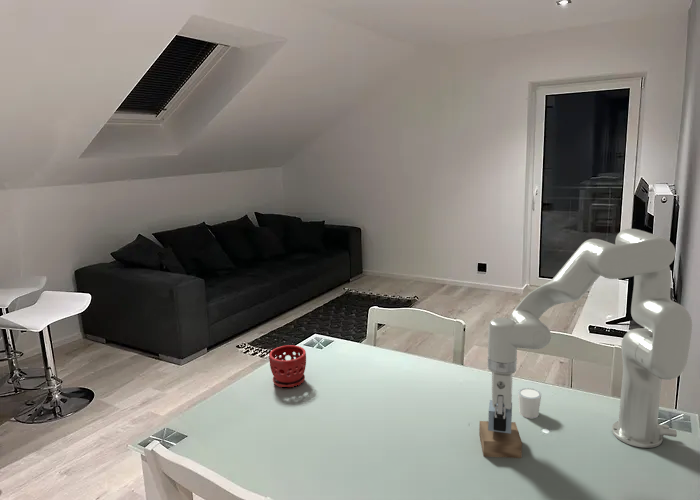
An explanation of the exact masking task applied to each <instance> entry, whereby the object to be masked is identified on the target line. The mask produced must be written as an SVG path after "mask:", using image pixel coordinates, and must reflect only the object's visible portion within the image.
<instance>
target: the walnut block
mask: <svg viewBox="0 0 700 500" xmlns="http://www.w3.org/2000/svg"><path fill="white" fill-rule="evenodd" d="M478 431H479V433H478V436H479V441H480V446H481V451H482V455H483V457H484V458H485V457H488V458H506V459H507V458H508V459H509V458H510V459H511V458H512V459H522V455H523V454H522V453H523V441H522V438H521V434H520V432H519V429H518V426H517V423H516V421H512V422H511V434H510V433H503V432H495V431H488V420H479V429H478Z"/></svg>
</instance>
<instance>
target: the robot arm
mask: <svg viewBox="0 0 700 500" xmlns="http://www.w3.org/2000/svg"><path fill="white" fill-rule="evenodd" d="M614 240H615V243H611V242H610V241H609V242H608V241H606V240H603V239H599V238H589V239H587V240H585V241H584V242H582V243H581V245H579V247H578V248H577V249H576V251H574V253H573V254H572V255H571V257H569V259H567V261H566V262H565V264H564V265H562V267H561V269H559V271H558V272H557V273H556V274H555V276H554V277H553V278H552V279H551V280H549V281H548V282H545V283H544V284H542V285H540V286H539V287H537V288H535V289H534V290H532V291H530V292H529V293H528V294H526V296H524V297H523V299H522V300H521V301H520V303H518V304H517V305H516V307H515V308H514V309H513V311H512V312H511V314H510V316H509V317H496V318H492V319H491V320H490V321H489V323H488V333H487V338H488V339H487V369H488V371H490V372H491V400H492V404H493V407H494V408H495V416H494V430H497V431H504V432H505V431H506V417H505V411H506V409H509V410H510V409H511V403H512V404H513V402H512V401H513V400H512V399H513V374H515V373H516V372H517V364H518V361H517V360H518V359H517V358H518V349H525V350H540V349H544V348H545V347H546V348H547V346H548V345H549V344H550V342H551V341H552V332H551V330H550V329H549V327H548V326H547V325H546V324H545V323H544V322H542V321H541V320H540V318H541V317H542V315H544V314H545V313H546V311H547V310H549V309H550V308H552V307H554V306H557V305H560V304H566V303H575V302H578V301H580V300H581V299H582V298H583V297H584V295H585V294H586V293H587V292H588V291H589V289H590V288H591V287H592V286H593V285H594V283H596V282H597V280H598V279H599V278H600V277H603V278H605V279H608V280H619V279H620V280H621V279H624V278H625V279H626V278H632V277H633V288H632V289H633V290H632V296H631V297H632V298H631V306H630V314H631V317H632V320H633V321H634V322H635V323H636V324H638V325H639V326H641V327H643V328H641V327H637V328H633V329H630V330H629V331H627V332H626V333H625V334H624V336H623V338H622V339H621V340H622V341H621V345H620V346H621V347H620V348H621V349H620V350H621V357H622V359H621V360H622V378H621V390H620V399H619V400H620V401H619V415H618V421H616V422H614V423H613V424H612V426H611V432H612V434H613V435H614V437H615V438H616V439H618V440H619V441H621V442H623V443H625V444H627V445H630V446H633V447H638V448H644V449H645V448H646V449H647V448H648V449H649V448H655V447H659V446H660V445H662V442H663V437H664V436H667V437H673V438H676V437H677V434H678V432H677V429H671V428H670V426H669V425H666V424H660V422H659V411H660V410H659V409H660V404H661V403H660V402H661V401H660V400H661V392H662V385H663V384H662V381H664V380H665V381H672V380H674V379H676V378H678V377H680V376H681V374H683V372H684V371H685V369H686V366H687V363H688V358H689V352H690V344H691V340H692V339H691V338H692V332H693V331H692V330H693V322H692V317H691V314H690V313H689V311H688V309H687V308H685V307H684V306H683V305H682V304H680V303H679V302H675V301H674V300H672V299H671V286H672V285H671V283H672V272H671V271H672V270H671V267H670V265H671V264H672V263H673V261H674V259H675V257H676V248H675V245H674V244H673V243H672V242H671V241H670V240H669V239H667V238H665V237H663V236H660V235H657V234H653V233H651V232H648V231H645V230H641V229H637V228H625V229H623V230H621V231H619V233H617V235H616V237H615V239H614ZM497 404H498V406H497ZM503 404H504V406H503ZM497 409H498V411H497ZM502 409H504V411H503V412H502Z"/></svg>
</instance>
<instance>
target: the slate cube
mask: <svg viewBox="0 0 700 500" xmlns="http://www.w3.org/2000/svg"><path fill="white" fill-rule="evenodd" d="M497 406H498V404H497ZM503 406H504V404H503ZM497 411H498V409H497ZM503 411H504V409H502V412H503ZM512 414H513V402H512V403H511V409H510V410H509V409H506V411H505V417H506V431H505V432H504V431H497V430H494V416H495V408H494V407H493V404H492V399H489V405H488V420H487V421H488V431H495V432H503V433H510V434H511V422H513V421H512V419H513V417H512V416H513V415H512Z"/></svg>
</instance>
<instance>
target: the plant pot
mask: <svg viewBox="0 0 700 500" xmlns="http://www.w3.org/2000/svg"><path fill="white" fill-rule="evenodd" d="M287 356H290V359H288V360H287V359H286V357H287ZM268 357H269V358H268V360H269V367H270V370H271V374H272V375H273V377H272V382H273V384H274V385H275V386H277V387H279V388H282V387H293V388H295V387H294V386H296V387H298V386H300V385H302V384H303V383H304V381H306V380H305V378H306V375H305V371H306V367H307V366H306V365H307V352H306V349H305V348H303V347H302V346H298V345H293V344H292V345H291V344H290V345H288V344H287V345H282V346H279V347H278V346H277V347H276V348H273V349H272V350H271V351H270V352H269V355H268ZM301 383H302V384H301ZM297 385H298V386H297Z"/></svg>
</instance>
